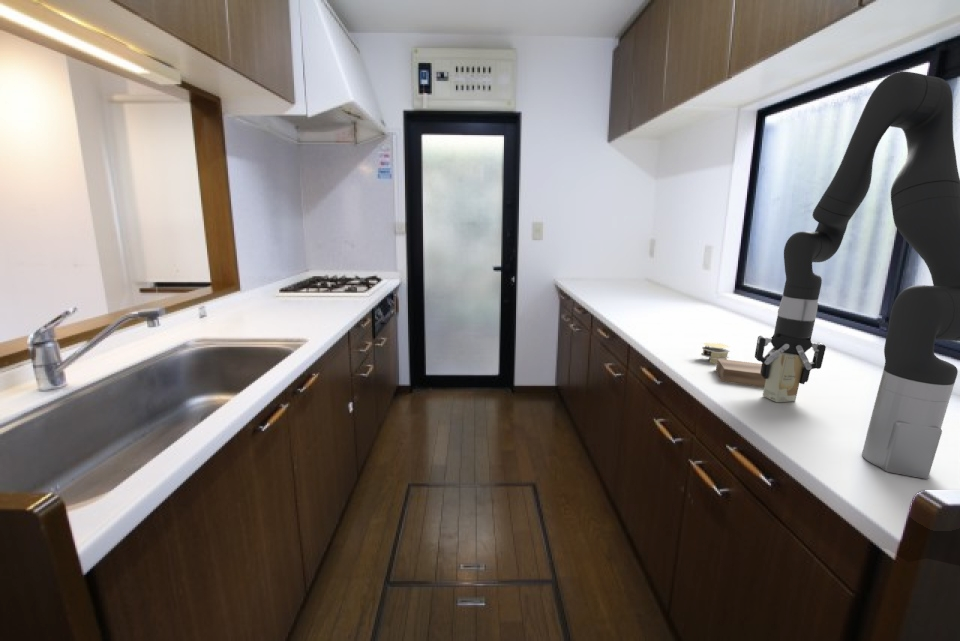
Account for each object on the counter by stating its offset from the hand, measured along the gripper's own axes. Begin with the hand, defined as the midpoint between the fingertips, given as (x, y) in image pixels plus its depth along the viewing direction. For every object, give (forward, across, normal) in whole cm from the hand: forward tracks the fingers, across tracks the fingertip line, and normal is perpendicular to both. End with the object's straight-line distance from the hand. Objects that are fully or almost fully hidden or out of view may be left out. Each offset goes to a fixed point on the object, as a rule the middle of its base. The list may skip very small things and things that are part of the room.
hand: (782, 380), depth 113 cm
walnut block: (+5, -6, +13) cm, 15 cm away
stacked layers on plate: (+5, -12, +28) cm, 31 cm away
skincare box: (+5, 0, 0) cm, 5 cm away
